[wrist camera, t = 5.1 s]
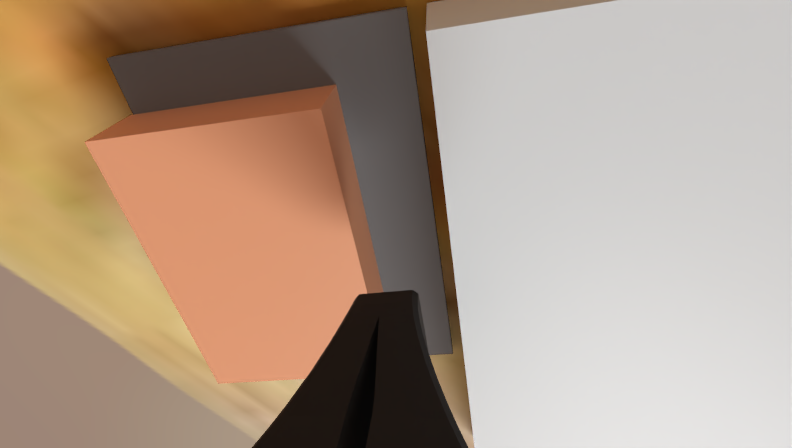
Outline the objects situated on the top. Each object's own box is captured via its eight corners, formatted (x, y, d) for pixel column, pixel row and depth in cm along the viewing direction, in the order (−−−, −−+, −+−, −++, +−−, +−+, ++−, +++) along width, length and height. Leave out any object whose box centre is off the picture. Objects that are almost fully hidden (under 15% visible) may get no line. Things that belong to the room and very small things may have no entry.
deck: (1002, -95, 9) (1327, -115, 6) (767, 429, 19) (842, 537, 15) (426, 2, 11) (426, 30, 8) (475, 439, 20) (485, 539, 17)
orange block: (84, 142, 11) (130, 115, 13) (218, 383, 16) (238, 340, 17) (320, 108, 10) (336, 84, 12) (387, 373, 15) (391, 329, 17)
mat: (406, 6, 11) (406, 7, 11) (452, 347, 17) (452, 353, 17) (113, 56, 12) (106, 58, 12) (255, 360, 18) (253, 365, 18)
